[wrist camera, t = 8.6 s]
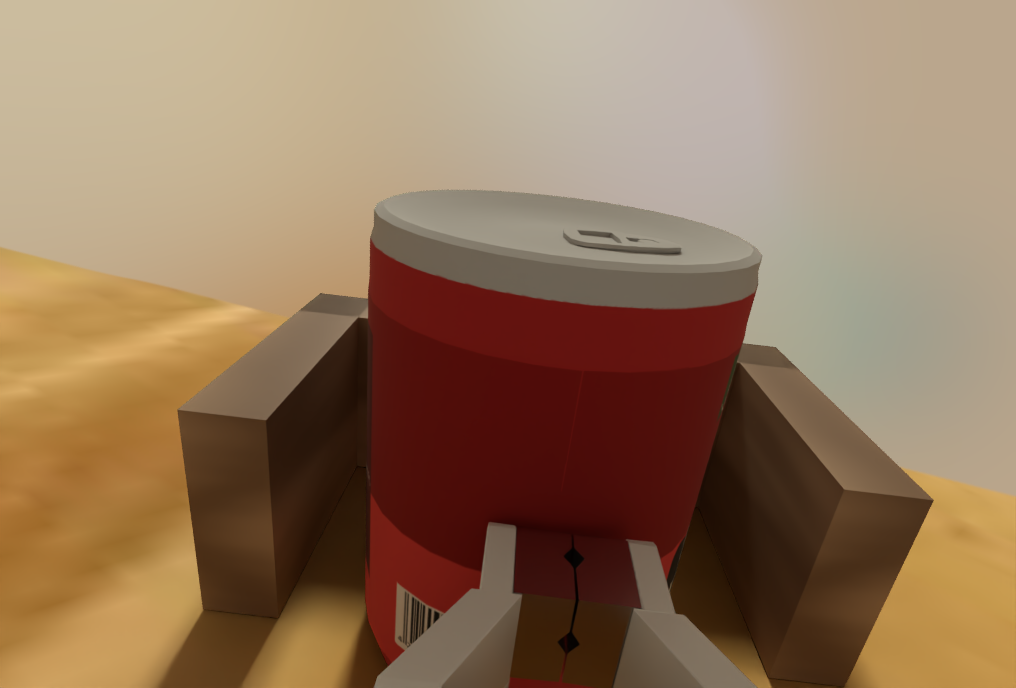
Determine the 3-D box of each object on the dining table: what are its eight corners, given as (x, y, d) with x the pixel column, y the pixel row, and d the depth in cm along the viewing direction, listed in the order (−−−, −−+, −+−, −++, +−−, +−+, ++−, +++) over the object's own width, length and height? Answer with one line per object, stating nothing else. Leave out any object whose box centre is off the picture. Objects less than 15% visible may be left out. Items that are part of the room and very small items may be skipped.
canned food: (710, 706, 14) (863, 274, 10) (379, 795, 11) (398, 261, 7) (581, 506, 21) (640, 199, 16) (354, 534, 18) (357, 180, 14)
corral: (202, 609, 15) (177, 409, 13) (323, 432, 23) (320, 293, 21) (844, 686, 15) (933, 500, 13) (733, 481, 23) (775, 347, 21)
